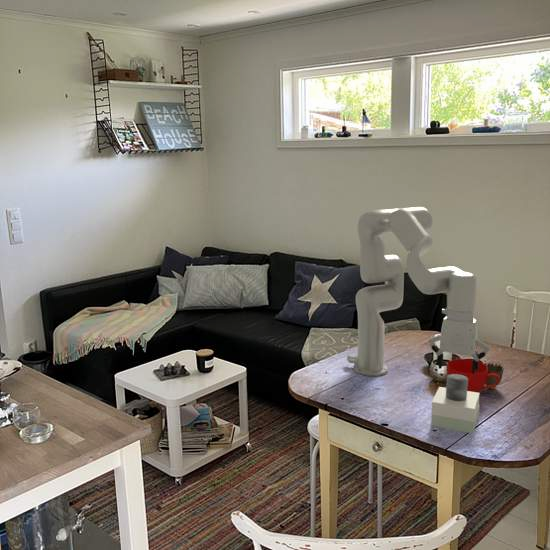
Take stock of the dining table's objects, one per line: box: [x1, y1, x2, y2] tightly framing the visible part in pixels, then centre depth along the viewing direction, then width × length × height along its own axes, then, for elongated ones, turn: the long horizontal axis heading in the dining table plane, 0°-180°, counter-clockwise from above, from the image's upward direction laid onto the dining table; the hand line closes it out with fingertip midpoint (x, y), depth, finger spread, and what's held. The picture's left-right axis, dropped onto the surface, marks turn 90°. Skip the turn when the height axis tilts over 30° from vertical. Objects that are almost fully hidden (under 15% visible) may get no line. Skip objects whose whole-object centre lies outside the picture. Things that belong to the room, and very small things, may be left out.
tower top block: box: [431, 386, 481, 422], centre depth 179 cm, size 12×12×4 cm
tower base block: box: [430, 405, 480, 434], centre depth 180 cm, size 12×12×4 cm
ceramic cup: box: [446, 358, 501, 393], centre depth 197 cm, size 13×17×10 cm
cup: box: [484, 362, 505, 391], centre depth 202 cm, size 8×7×8 cm
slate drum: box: [445, 374, 468, 401], centre depth 179 cm, size 6×6×6 cm
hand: (457, 369), depth 178 cm, fingers open, 9 cm apart
